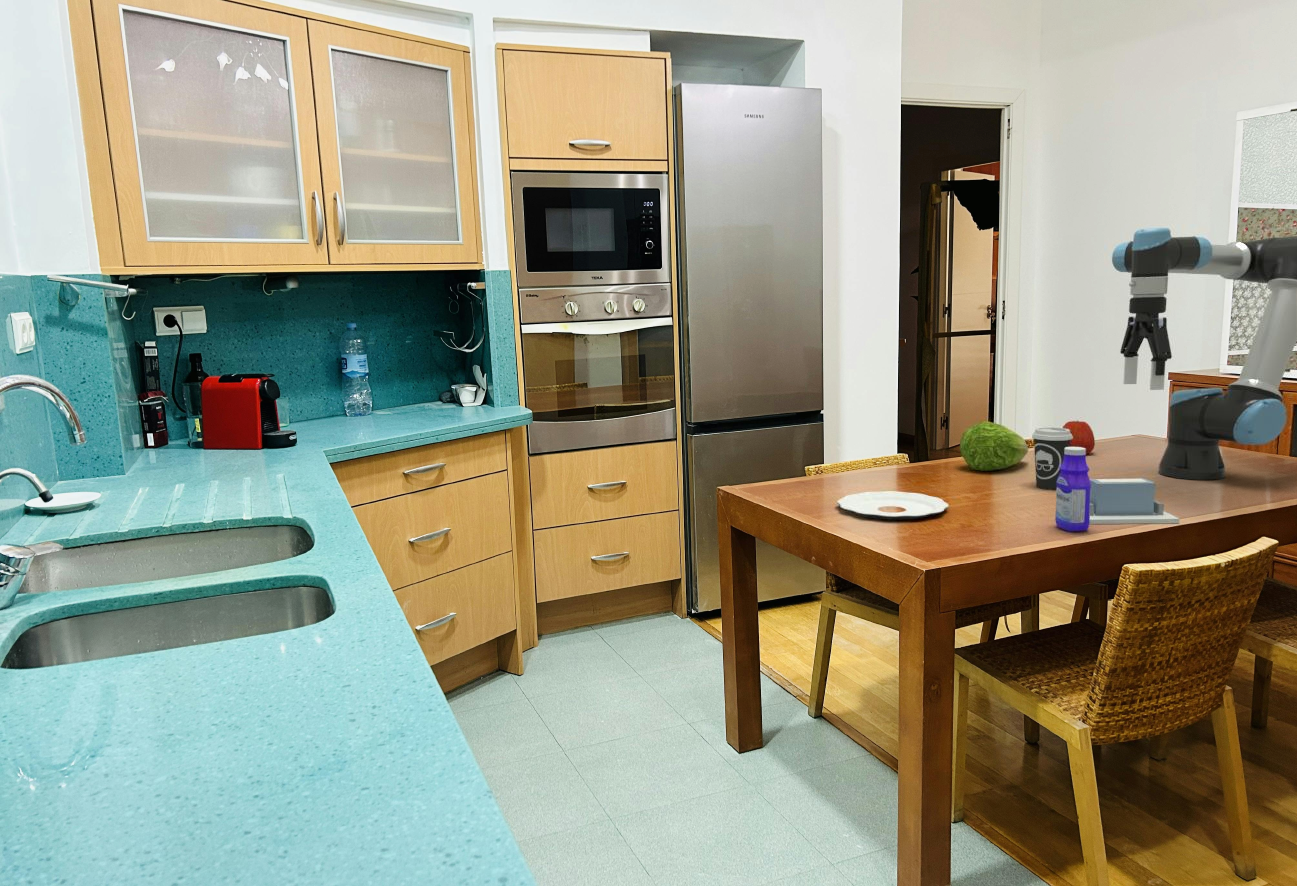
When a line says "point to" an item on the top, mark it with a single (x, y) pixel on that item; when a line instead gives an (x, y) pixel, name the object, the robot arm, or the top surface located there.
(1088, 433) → the apple
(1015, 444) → the lettuce
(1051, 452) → the coffee cup
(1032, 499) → the top surface
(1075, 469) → the bottle
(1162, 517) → the wall board
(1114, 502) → the frame block
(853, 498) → the plate
